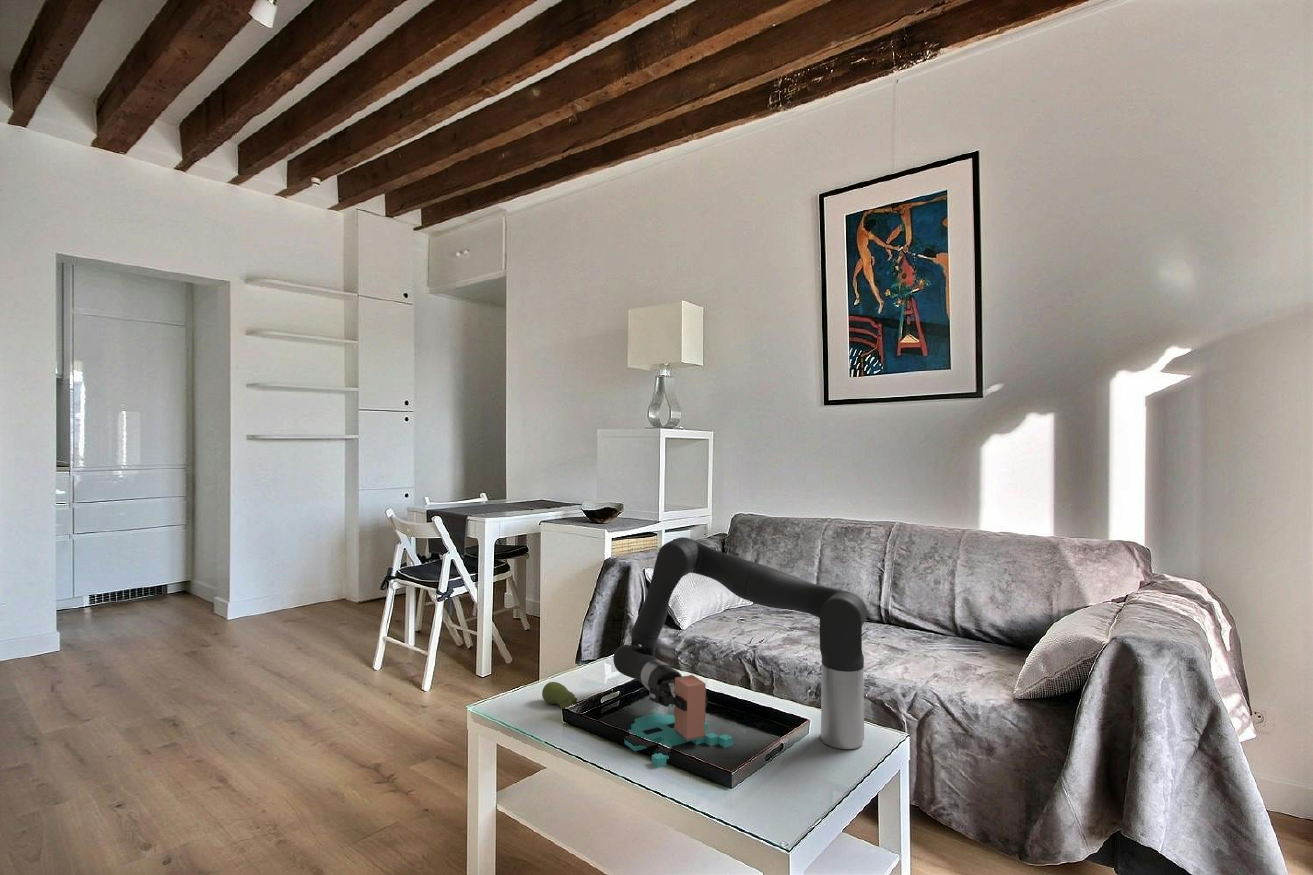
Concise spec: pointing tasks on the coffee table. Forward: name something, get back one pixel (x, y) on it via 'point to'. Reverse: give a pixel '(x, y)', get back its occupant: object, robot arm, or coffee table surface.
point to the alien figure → (669, 735)
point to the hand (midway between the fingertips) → (695, 704)
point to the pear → (558, 695)
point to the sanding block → (690, 708)
